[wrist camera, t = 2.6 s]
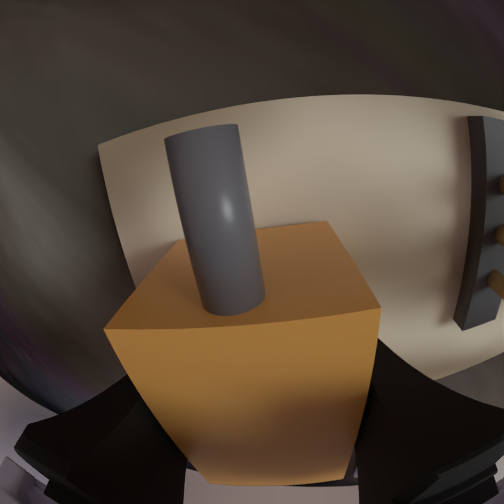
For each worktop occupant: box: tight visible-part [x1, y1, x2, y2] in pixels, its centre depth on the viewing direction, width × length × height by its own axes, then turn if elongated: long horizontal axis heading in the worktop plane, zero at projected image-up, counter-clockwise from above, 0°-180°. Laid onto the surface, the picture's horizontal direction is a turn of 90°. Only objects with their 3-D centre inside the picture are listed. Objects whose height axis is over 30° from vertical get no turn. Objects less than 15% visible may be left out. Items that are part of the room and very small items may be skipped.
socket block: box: [104, 124, 381, 486], centre depth 8 cm, size 11×5×5 cm, turn 9°
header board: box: [98, 95, 504, 380], centre depth 8 cm, size 14×22×5 cm, turn 99°
